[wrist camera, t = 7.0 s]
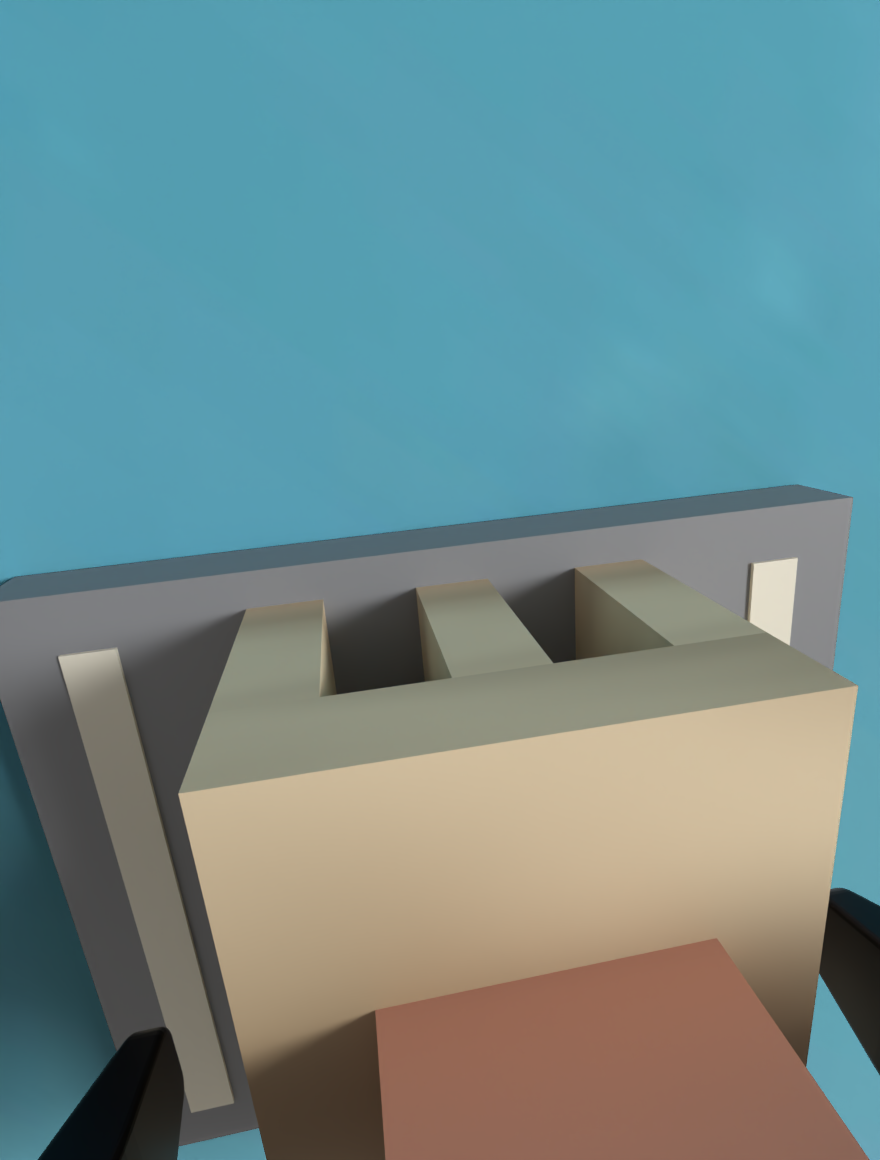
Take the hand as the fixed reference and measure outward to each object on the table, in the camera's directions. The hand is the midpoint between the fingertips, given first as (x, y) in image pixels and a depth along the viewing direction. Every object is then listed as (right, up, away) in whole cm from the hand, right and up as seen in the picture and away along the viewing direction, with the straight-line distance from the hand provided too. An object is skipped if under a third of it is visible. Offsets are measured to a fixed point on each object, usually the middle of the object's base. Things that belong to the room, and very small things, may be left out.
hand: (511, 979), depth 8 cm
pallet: (0, +1, +2) cm, 2 cm away
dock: (-1, +1, +3) cm, 4 cm away
